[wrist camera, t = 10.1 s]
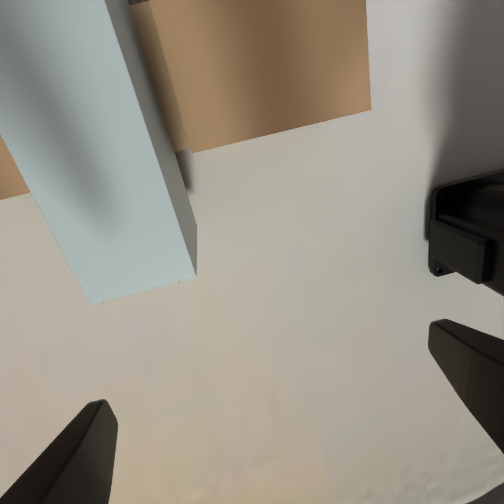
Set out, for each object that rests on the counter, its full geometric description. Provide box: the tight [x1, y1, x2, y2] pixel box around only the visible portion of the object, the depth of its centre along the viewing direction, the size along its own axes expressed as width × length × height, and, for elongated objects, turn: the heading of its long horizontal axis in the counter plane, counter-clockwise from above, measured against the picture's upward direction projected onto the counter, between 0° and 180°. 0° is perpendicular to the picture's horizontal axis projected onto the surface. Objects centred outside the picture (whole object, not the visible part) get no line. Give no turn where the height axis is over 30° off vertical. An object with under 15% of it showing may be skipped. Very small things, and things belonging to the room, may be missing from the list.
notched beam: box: [0, 0, 371, 200], centre depth 14 cm, size 22×6×4 cm, turn 102°
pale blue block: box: [0, 0, 197, 305], centre depth 11 cm, size 14×4×6 cm, turn 12°
